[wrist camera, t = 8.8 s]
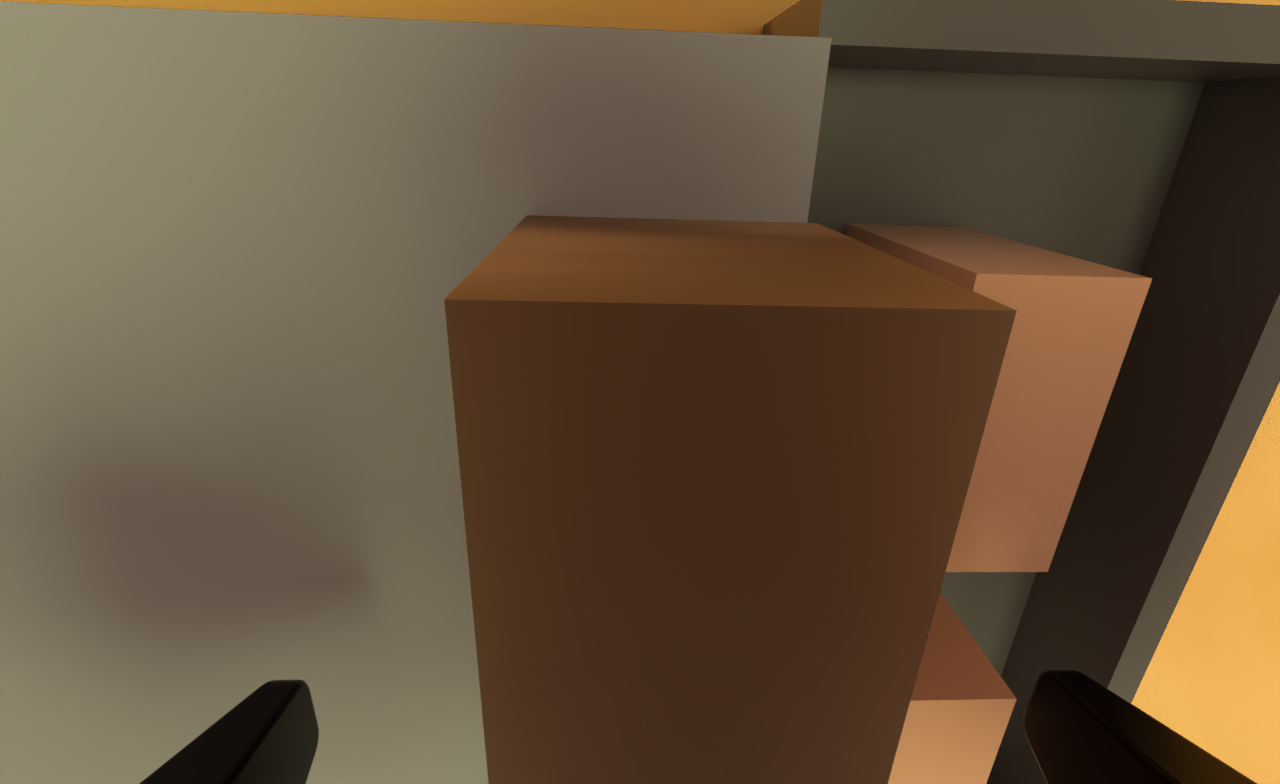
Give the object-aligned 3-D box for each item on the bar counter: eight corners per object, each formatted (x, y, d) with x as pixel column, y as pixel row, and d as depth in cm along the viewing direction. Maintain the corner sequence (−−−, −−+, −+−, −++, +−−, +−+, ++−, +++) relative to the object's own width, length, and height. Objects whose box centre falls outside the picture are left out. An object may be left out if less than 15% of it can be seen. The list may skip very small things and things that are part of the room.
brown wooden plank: (549, 823, 12) (521, 1147, 8) (526, 215, 7) (443, 299, 4) (734, 819, 12) (792, 1131, 8) (817, 223, 8) (1017, 309, 4)
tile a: (843, 869, 11) (956, 866, 11) (886, 700, 9) (1016, 698, 9) (784, 681, 14) (868, 679, 15) (807, 538, 13) (901, 538, 13)
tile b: (903, 571, 8) (1047, 571, 8) (976, 274, 7) (1151, 277, 7) (812, 436, 12) (913, 437, 12) (846, 223, 10) (962, 226, 11)
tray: (695, 747, 16) (713, 876, 13) (764, 25, 10) (825, -17, 7) (980, 741, 16) (1056, 865, 14) (1221, 45, 10) (1448, 13, 7)
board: (122, 741, 15) (-11, 907, 12) (-170, 29, 9) (-587, -25, 6) (697, 730, 16) (719, 884, 13) (759, 68, 10) (831, 38, 7)
